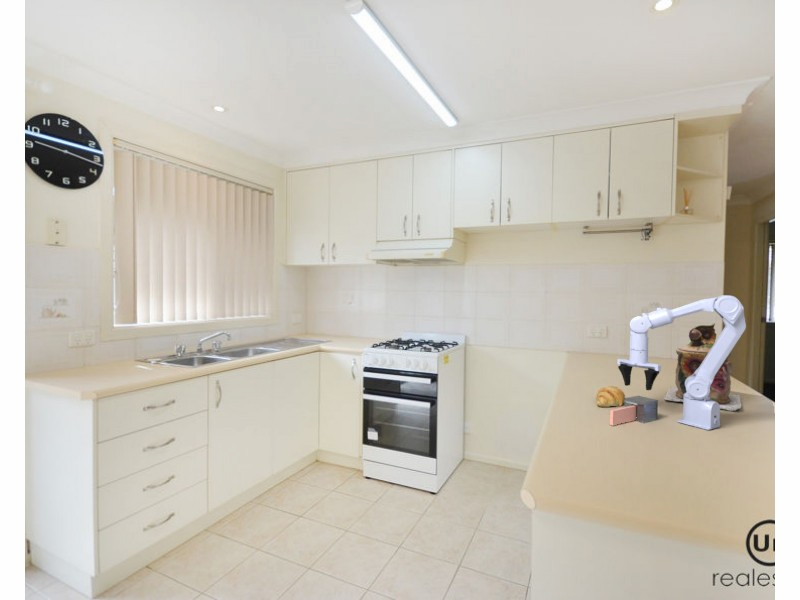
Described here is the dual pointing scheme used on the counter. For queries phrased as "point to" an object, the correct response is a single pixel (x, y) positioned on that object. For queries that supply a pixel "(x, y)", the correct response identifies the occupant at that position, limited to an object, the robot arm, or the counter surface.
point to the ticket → (623, 415)
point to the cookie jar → (692, 360)
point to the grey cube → (643, 408)
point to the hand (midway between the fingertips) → (637, 387)
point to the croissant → (610, 396)
